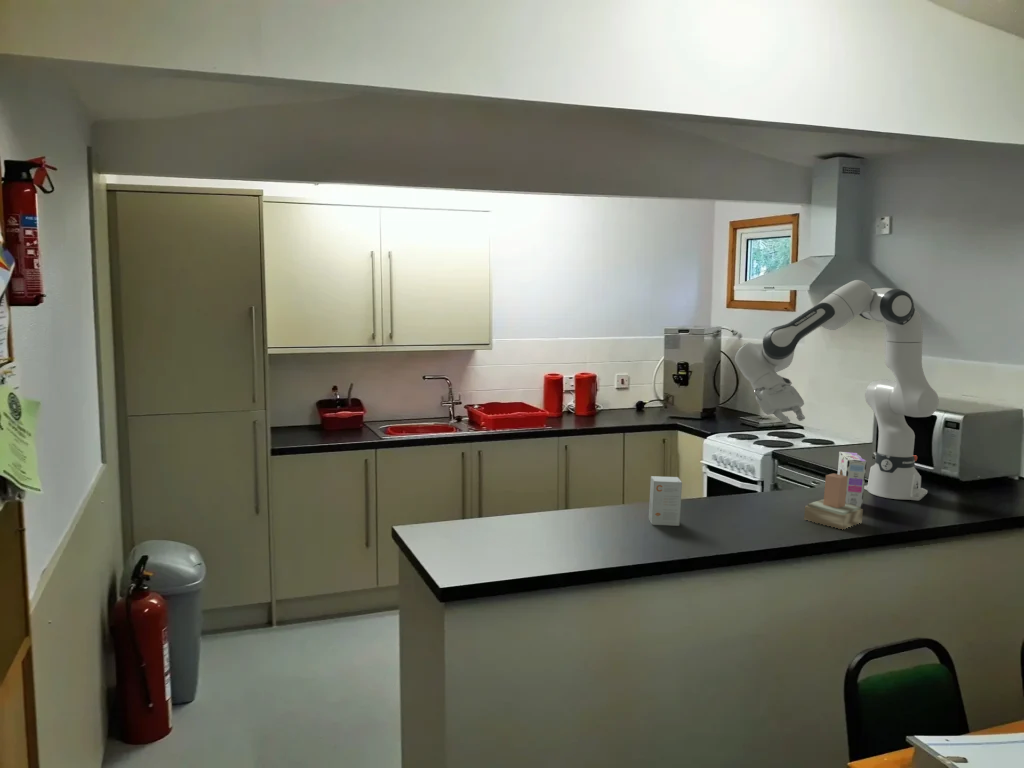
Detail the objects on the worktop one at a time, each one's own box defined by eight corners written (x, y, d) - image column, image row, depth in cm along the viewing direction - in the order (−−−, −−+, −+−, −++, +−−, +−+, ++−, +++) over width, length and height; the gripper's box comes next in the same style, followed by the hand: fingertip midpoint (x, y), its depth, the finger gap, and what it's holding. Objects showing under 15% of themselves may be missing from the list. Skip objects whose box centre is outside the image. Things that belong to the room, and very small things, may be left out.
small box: (675, 519, 237) (678, 476, 236) (679, 526, 231) (682, 482, 230) (647, 518, 238) (650, 475, 236) (651, 525, 231) (654, 480, 230)
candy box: (862, 512, 254) (867, 461, 252) (842, 510, 255) (847, 459, 253) (853, 500, 267) (857, 452, 265) (834, 499, 268) (838, 450, 266)
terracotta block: (830, 502, 245) (833, 473, 243) (844, 505, 241) (847, 476, 240) (823, 504, 242) (825, 475, 240) (837, 508, 238) (840, 478, 237)
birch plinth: (823, 513, 250) (825, 497, 250) (861, 523, 241) (863, 506, 241) (803, 519, 242) (805, 503, 242) (842, 530, 234) (844, 513, 233)
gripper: (758, 382, 252) (785, 418, 247) (792, 379, 266) (817, 412, 260) (745, 395, 256) (770, 430, 250) (778, 390, 270) (803, 424, 264)
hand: (795, 421), depth 255 cm, fingers open, 8 cm apart
